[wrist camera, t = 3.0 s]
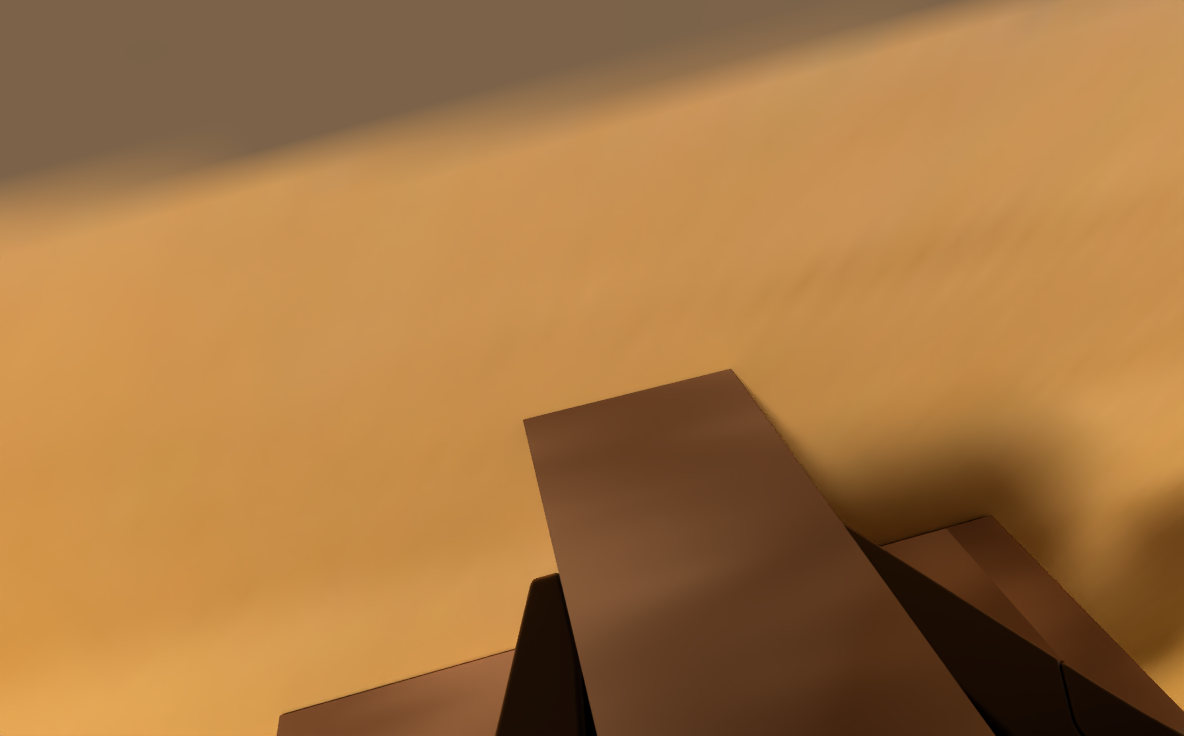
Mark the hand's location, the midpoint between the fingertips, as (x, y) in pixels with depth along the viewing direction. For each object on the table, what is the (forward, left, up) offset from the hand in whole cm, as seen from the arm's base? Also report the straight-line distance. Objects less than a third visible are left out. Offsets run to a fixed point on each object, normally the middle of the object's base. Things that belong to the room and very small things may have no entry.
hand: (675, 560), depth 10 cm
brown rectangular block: (0, 0, -2) cm, 2 cm away
